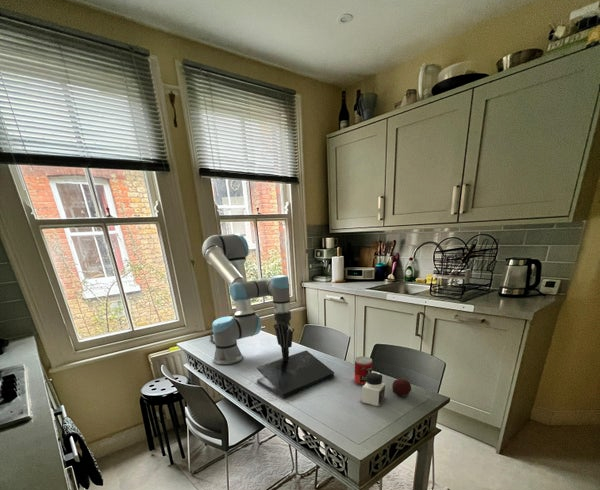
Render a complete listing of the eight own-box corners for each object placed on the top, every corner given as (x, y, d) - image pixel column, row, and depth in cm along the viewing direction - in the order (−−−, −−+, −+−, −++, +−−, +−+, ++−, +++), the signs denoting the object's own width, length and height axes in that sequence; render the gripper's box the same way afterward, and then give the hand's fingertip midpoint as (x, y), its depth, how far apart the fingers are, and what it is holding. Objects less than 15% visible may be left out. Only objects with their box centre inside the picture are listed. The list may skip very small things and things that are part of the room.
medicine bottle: (378, 406, 124) (380, 379, 120) (361, 402, 128) (362, 375, 123) (384, 398, 130) (386, 372, 125) (367, 394, 133) (369, 369, 129)
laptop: (257, 383, 148) (256, 379, 148) (305, 364, 165) (305, 361, 165) (283, 399, 133) (283, 395, 133) (334, 377, 150) (334, 373, 149)
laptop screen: (256, 368, 145) (256, 367, 144) (306, 351, 162) (306, 350, 161) (283, 395, 133) (283, 393, 132) (334, 373, 149) (334, 372, 149)
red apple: (389, 390, 136) (390, 376, 133) (407, 390, 135) (409, 375, 132) (393, 399, 129) (395, 384, 126) (413, 399, 129) (414, 383, 126)
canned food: (361, 387, 140) (362, 364, 135) (350, 380, 146) (351, 358, 142) (375, 383, 143) (376, 360, 138) (364, 376, 149) (364, 355, 145)
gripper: (267, 310, 144) (271, 358, 154) (284, 315, 135) (287, 366, 144) (280, 307, 148) (284, 354, 158) (297, 312, 139) (300, 361, 148)
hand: (285, 359), depth 151 cm, fingers closed
